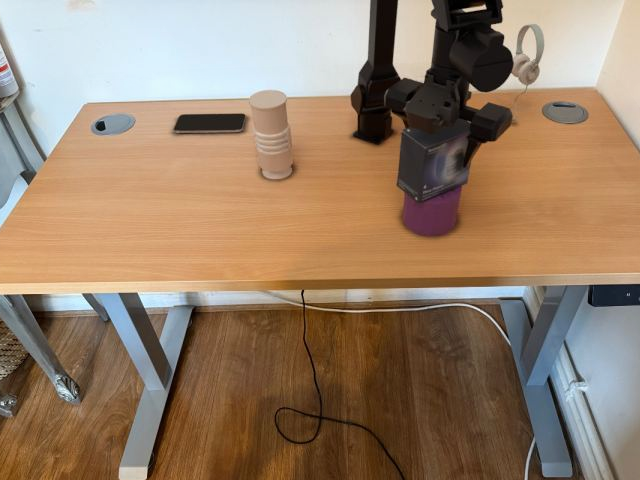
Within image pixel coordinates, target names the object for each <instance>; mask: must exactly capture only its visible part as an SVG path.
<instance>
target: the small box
mask: <svg viewBox="0 0 640 480" xmlns="http://www.w3.org/2000/svg"><path fill="white" fill-rule="evenodd" d="M470 123H471V122H469V121H466V120H463V119H460V118H458V119H457V120H456V122H455V123H454V125H453V126H452V127H451V128H448V127H443V128H442V129H439V131H438V132H437V133H435V134H428V133H426V132H425V131H422V130H419V129H416V128H415V129H413V128H411V127H409V128H406V127H405V128H403V129H402V130H401V132H400V134H401V135H400V146H399V158H398V169H397V170H398V171H397V177H396V179H397V180H396V187H397V188H399V190H401V191H402V192H404V194H405V193H406V194H407V195H408V196H410V197H411V198H412V199H413V200H414V201H416V202H417V203H418V204H419V203H422V202H424V201H426V200H429V199H431V198H433V197H436V196H438V195H441V194H443V193H445V192H448V191H450V190H452V189H455V188H457V187H460V186H462V187H463V186H464V185H467V184H468V182H469V176H470V171H471V166H472V161H473V159H472V160H471V162H470V163H469V165H468V166H467V167H466V168H463V162H464V157H465V153H466V149H467V145H468V140H467V138H466V136H467V135H468V134H470V133H471V132H470V130H469V129H470Z"/></svg>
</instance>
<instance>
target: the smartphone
mask: <svg viewBox="0 0 640 480" xmlns="http://www.w3.org/2000/svg"><path fill="white" fill-rule="evenodd" d="M246 119H247V117H246V114H245V113H241V112H240V113H239V112H238V113H183V114H180V115H179V116H178V118H177V120H176V123H175V125H174V127H173V132H174V133H176V134H200V133H202V134H204V133H205V134H207V133H208V134H209V133H211V134H212V133H214V134H215V133H240V132H242V131H243V129H244V126H245V121H246Z"/></svg>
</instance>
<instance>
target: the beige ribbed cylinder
mask: <svg viewBox="0 0 640 480" xmlns="http://www.w3.org/2000/svg"><path fill="white" fill-rule="evenodd" d="M287 101H288V96H287V94H285V92H283V91H281V90H276V89H265V90H259V91H257V92H254V93H253V94H251V95H250V97H249V98H248V104H249V106H250V108H251V116H252V121H253V127H252V132H253V138H254V144H255V150H256V152H257V160H258V161H257V162H258V165H259V167H260V168H261V169H262V170H261V174H262V176H264V178H266V179H269V180H282V179H285V178H287V177H289V176H290V175H291V174H292V173H293V168H292V165H293V163H294V157H293V151H292V148H293V141H292V140H293V139H292V131H291V129H292V128H291V125H290V123H289V121H288V120H289V119H288V111H287Z"/></svg>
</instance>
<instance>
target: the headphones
mask: <svg viewBox="0 0 640 480" xmlns="http://www.w3.org/2000/svg"><path fill="white" fill-rule="evenodd" d="M529 29H531V30H532V32H533V35H534V37H535V45H536V46H535V47H536V48H535V49H536V52H535V53H536V54H535V58H533V60H531V58H530V57H529V56H528V55H527V54H526V53H524V51H523V41H524V37H525V36H526V33H527V32H528V30H529ZM544 51H545V37H544V33H543V30H542V28H541V27H540V26H539V25H538V24H536V23H532V24H531V23H530V24H525V25H523V26H522V27H521V28H520V29H519V31H518V33H517V38H516V50H515V55H514V56H513V62H514V65H513V69H512V72H511V75H512V76H513V77H515V78H517V79H518V81H519V82H520V83H521V84H522V85H524V86H526V87H525V90H524V91H522V92H520V93H519V94H518V95H517V96H516V97H515V99H514V104H513V105H514V112H515V119H514V121H513V120H512V122H511V124H515V123H516V121H517V119H518V113H517V106H516V102H517V99H518V97H520V96H521V95H522V94H525V93H526V91H527V89H528V87H529V86H530V85H532V84H534V83H535V82H536V81H537V79H538V78H539V76H540V71H541V69H540V65H539V64H540V62H541V59H542V57H543V54H544Z"/></svg>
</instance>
